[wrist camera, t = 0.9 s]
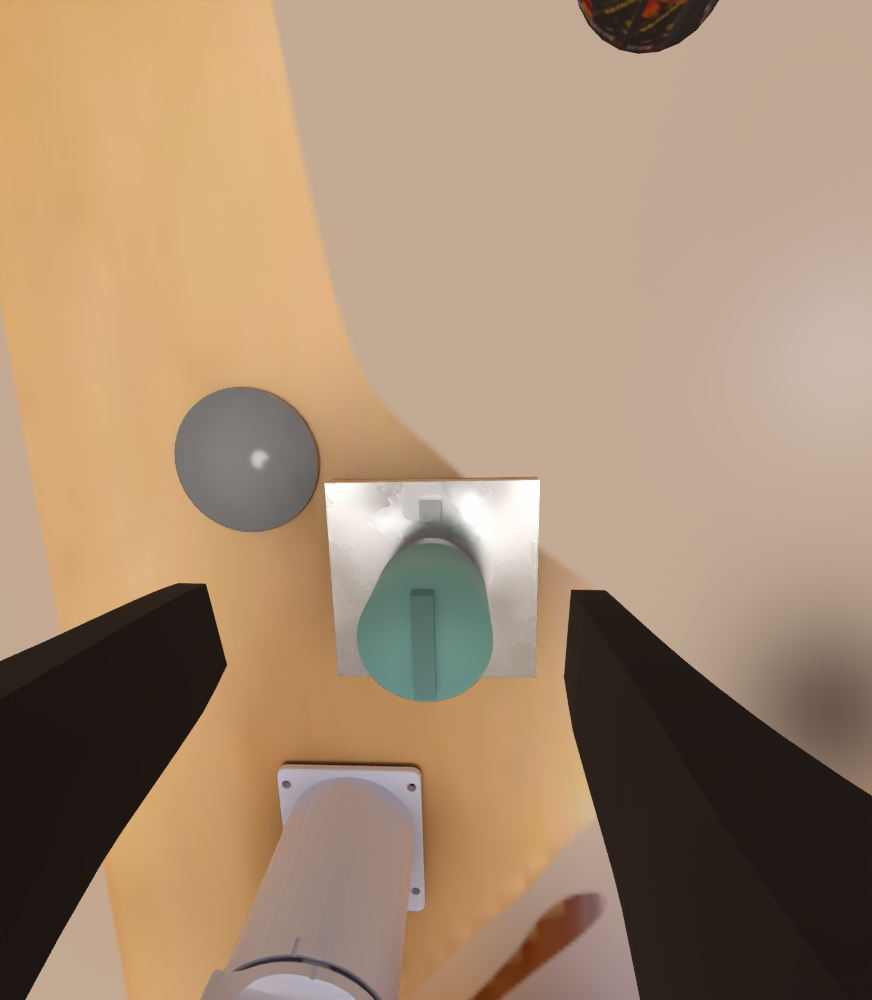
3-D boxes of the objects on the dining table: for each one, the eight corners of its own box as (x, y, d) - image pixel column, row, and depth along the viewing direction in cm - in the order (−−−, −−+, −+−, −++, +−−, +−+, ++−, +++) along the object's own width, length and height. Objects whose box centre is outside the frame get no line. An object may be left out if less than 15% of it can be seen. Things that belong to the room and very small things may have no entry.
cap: (486, 647, 21) (494, 713, 16) (379, 646, 21) (356, 711, 16) (486, 542, 20) (494, 582, 15) (373, 543, 20) (348, 582, 15)
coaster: (324, 529, 23) (321, 531, 22) (189, 530, 23) (184, 532, 23) (313, 385, 21) (310, 385, 21) (170, 389, 22) (165, 389, 21)
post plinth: (532, 666, 23) (540, 696, 21) (343, 664, 24) (330, 693, 22) (536, 477, 21) (546, 485, 19) (330, 480, 22) (314, 488, 20)
